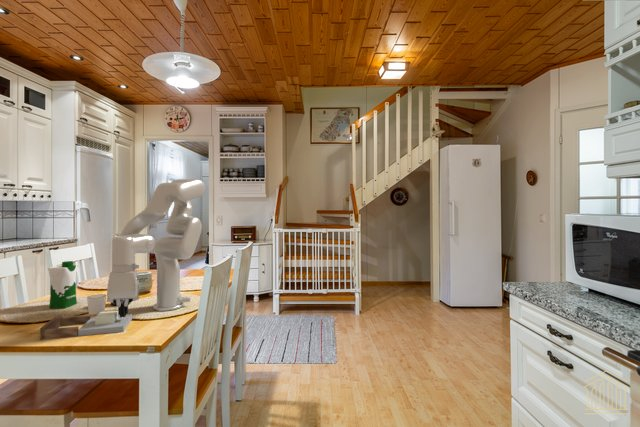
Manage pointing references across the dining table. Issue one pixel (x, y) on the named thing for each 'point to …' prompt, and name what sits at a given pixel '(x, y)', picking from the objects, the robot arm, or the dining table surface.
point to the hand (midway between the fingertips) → (123, 316)
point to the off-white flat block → (106, 318)
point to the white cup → (96, 303)
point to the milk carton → (63, 285)
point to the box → (53, 325)
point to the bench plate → (105, 326)
